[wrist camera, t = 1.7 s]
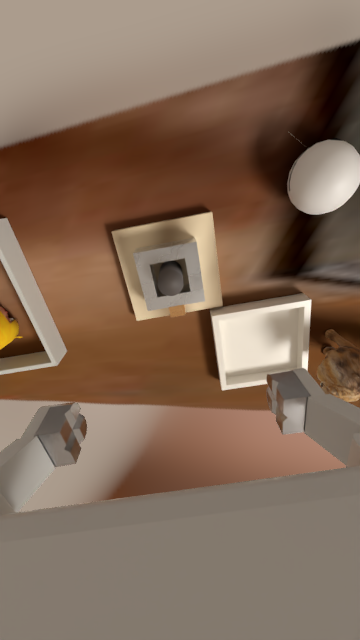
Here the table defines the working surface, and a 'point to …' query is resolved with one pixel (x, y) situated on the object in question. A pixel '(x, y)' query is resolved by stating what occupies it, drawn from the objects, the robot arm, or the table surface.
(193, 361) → the table surface
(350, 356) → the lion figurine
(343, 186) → the white egg
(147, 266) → the ring
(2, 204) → the table surface
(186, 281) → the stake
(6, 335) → the character figure
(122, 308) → the table surface
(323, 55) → the table surface
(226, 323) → the tray
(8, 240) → the figure corral
